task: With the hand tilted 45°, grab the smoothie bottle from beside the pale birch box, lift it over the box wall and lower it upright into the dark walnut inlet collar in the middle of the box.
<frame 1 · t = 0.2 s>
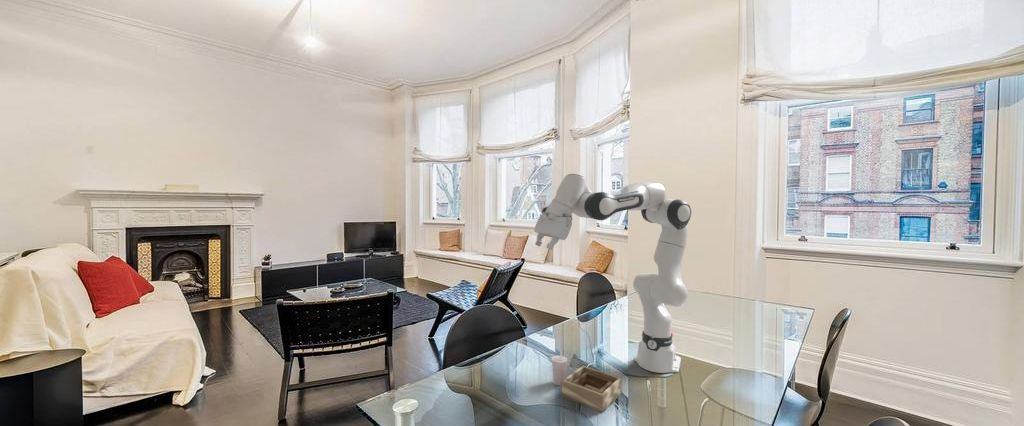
hand: (543, 247, 146), 54 cm above the table, tool tilted 30°, fingers open, 8 cm apart
inlet box: (591, 395, 146), on the table
smoothie: (558, 383, 155), on the table
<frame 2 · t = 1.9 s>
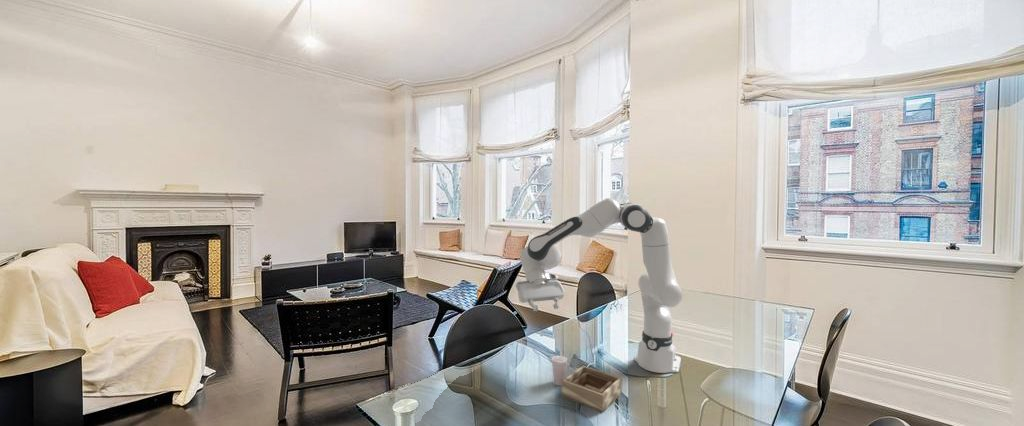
hand: (546, 309, 165), 25 cm above the table, tool tilted 45°, fingers open, 8 cm apart
nothing on the table moved.
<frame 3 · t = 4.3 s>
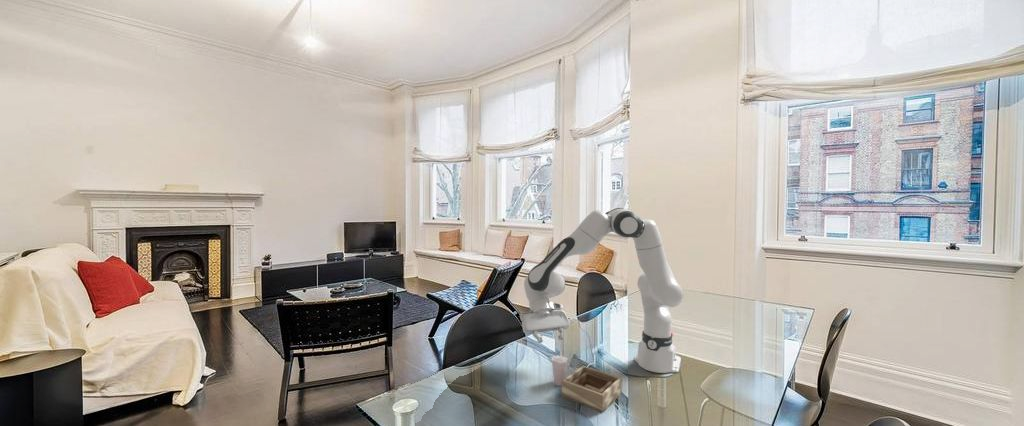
hand: (551, 340, 161), 14 cm above the table, tool tilted 45°, fingers open, 8 cm apart
nothing on the table moved.
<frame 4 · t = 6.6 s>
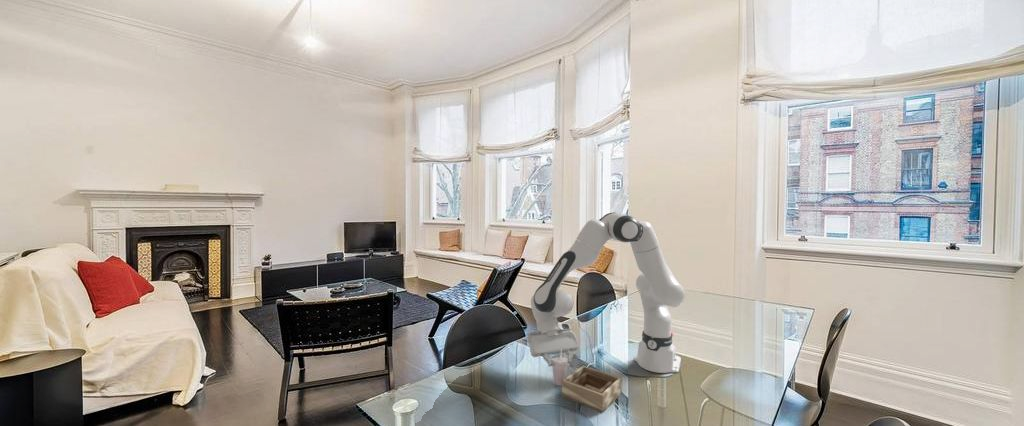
hand: (560, 364, 154), 8 cm above the table, tool tilted 45°, fingers closed on smoothie, 6 cm apart
smoothie: (558, 383, 155), on the table, touching gripper
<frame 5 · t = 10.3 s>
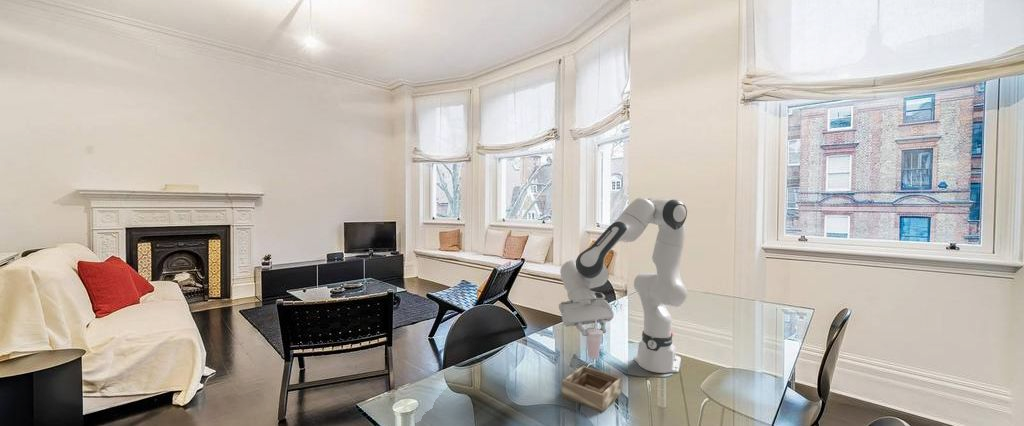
hand: (594, 334, 144), 23 cm above the table, tool tilted 45°, fingers closed on smoothie, 6 cm apart
smoothie: (593, 357, 145), point 14 cm above the table, touching gripper
when the fingers open (10 cm above the table, at t = 14.0 s): smoothie stays where it is, resting on inlet box.
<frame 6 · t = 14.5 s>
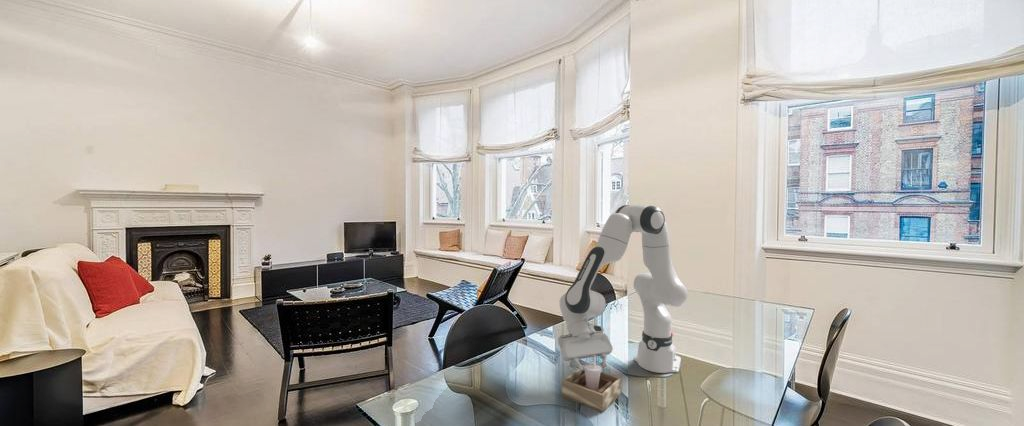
hand: (593, 368, 145), 10 cm above the table, tool tilted 45°, fingers open, 8 cm apart
smoothie: (591, 393, 146), point 1 cm above the table, touching inlet box
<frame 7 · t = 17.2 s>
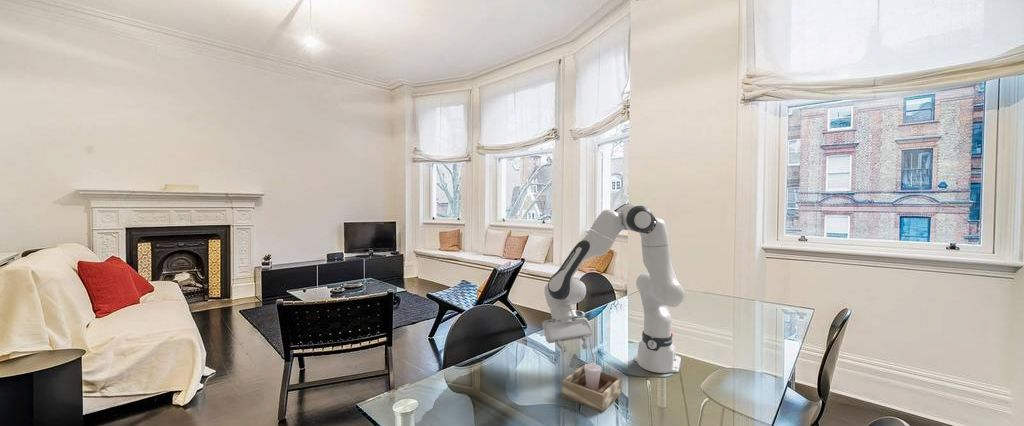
hand: (574, 349, 158), 12 cm above the table, tool tilted 45°, fingers open, 8 cm apart
nothing on the table moved.
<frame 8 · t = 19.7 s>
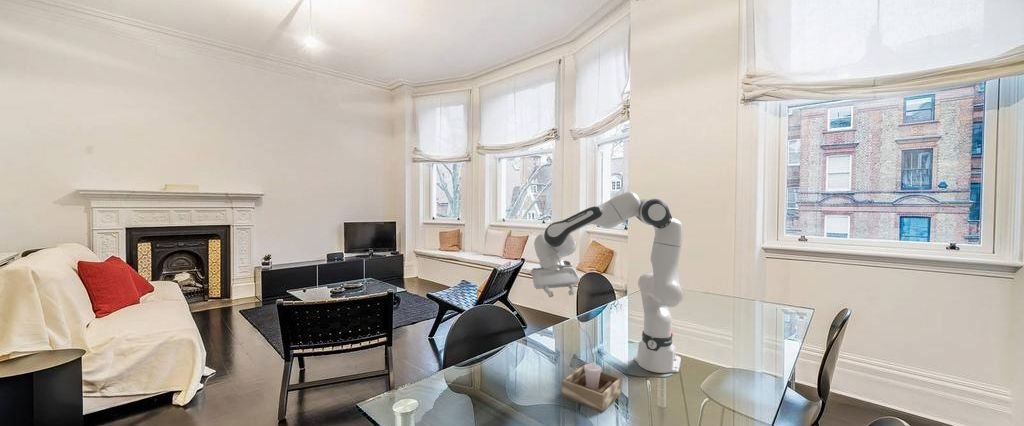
hand: (561, 295, 164), 31 cm above the table, tool tilted 45°, fingers open, 8 cm apart
nothing on the table moved.
at the end: smoothie 0.0 cm off-centre on the inlet box, point 0.8 cm above the inlet box's base; smoothie tilted 0°; the gripper is holding nothing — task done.
